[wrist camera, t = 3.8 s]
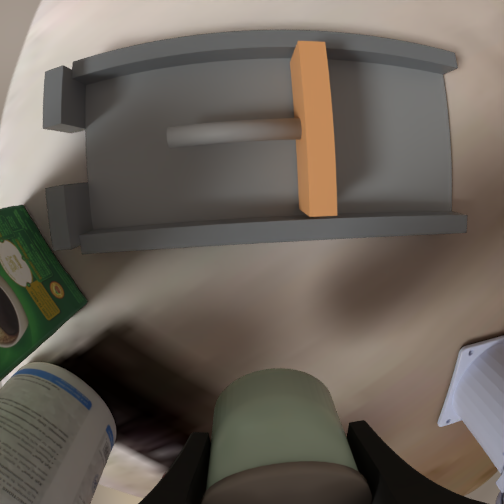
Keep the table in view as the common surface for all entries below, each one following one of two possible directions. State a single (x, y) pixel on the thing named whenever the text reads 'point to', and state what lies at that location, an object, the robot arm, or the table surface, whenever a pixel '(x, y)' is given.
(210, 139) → the pusher
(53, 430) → the supplement tub
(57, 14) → the table surface
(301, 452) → the jar
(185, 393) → the table surface
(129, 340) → the table surface
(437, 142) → the lane
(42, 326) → the coffee box
